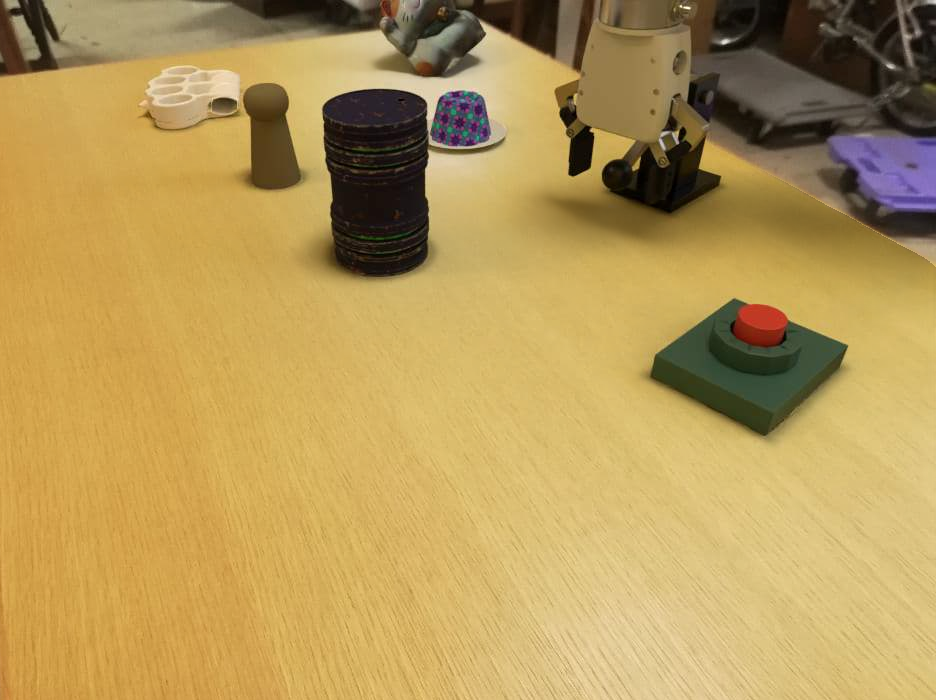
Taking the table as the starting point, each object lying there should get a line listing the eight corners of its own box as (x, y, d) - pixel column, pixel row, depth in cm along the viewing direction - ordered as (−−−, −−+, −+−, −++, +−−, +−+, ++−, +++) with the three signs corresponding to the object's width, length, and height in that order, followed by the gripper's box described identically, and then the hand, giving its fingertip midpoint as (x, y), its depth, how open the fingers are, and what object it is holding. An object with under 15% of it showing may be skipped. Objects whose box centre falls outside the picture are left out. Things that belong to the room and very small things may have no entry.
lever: (623, 200, 82) (618, 180, 80) (598, 191, 84) (592, 171, 82) (706, 96, 84) (704, 73, 81) (680, 89, 86) (677, 66, 83)
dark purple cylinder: (362, 287, 76) (352, 135, 66) (317, 246, 82) (302, 102, 73) (448, 258, 79) (450, 110, 70) (398, 221, 86) (394, 81, 76)
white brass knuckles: (240, 124, 110) (134, 133, 109) (242, 83, 124) (148, 90, 122) (236, 100, 108) (128, 108, 107) (239, 61, 122) (143, 68, 120)
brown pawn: (310, 173, 97) (301, 81, 89) (281, 192, 93) (268, 98, 86) (271, 164, 99) (259, 74, 92) (241, 182, 95) (226, 90, 88)
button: (767, 354, 60) (773, 335, 59) (723, 334, 62) (729, 316, 61) (790, 335, 61) (796, 316, 60) (747, 316, 64) (753, 298, 62)
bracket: (670, 213, 86) (695, 94, 77) (609, 191, 90) (627, 76, 82) (719, 185, 91) (747, 70, 82) (659, 166, 95) (680, 55, 87)
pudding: (524, 134, 104) (527, 94, 101) (466, 162, 98) (467, 120, 94) (455, 114, 111) (455, 75, 107) (396, 139, 104) (395, 99, 101)
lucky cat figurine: (435, 83, 121) (391, -6, 115) (397, 95, 131) (354, 14, 125) (501, 33, 125) (461, -55, 119) (459, 49, 135) (420, -31, 129)
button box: (765, 435, 58) (781, 393, 56) (650, 376, 64) (659, 335, 61) (839, 367, 64) (856, 326, 61) (728, 318, 70) (739, 279, 67)
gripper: (751, 14, 68) (710, 198, 79) (590, -13, 78) (572, 153, 89) (704, 33, 64) (667, 223, 75) (541, 2, 75) (529, 173, 86)
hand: (616, 185), depth 82 cm, fingers open, 9 cm apart
